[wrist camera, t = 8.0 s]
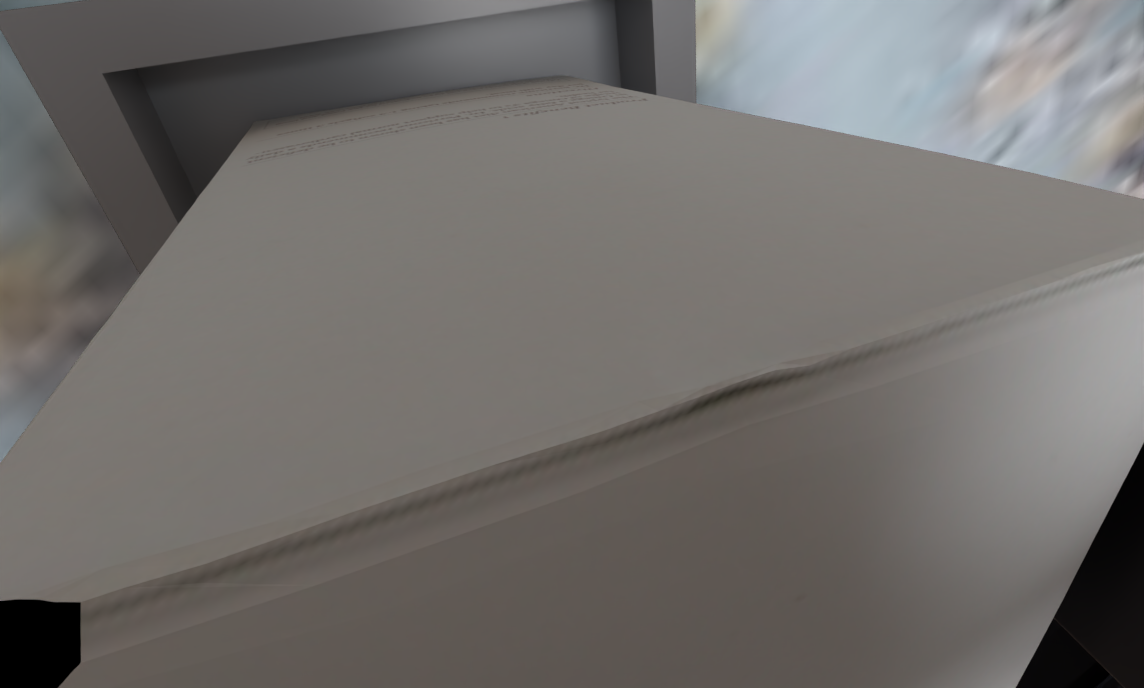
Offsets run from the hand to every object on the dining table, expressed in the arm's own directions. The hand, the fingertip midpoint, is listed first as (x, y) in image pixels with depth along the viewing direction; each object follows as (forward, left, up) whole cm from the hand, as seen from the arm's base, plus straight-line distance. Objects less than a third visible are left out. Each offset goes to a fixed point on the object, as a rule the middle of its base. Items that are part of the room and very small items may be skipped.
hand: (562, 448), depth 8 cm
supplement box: (0, 0, -9) cm, 9 cm away
